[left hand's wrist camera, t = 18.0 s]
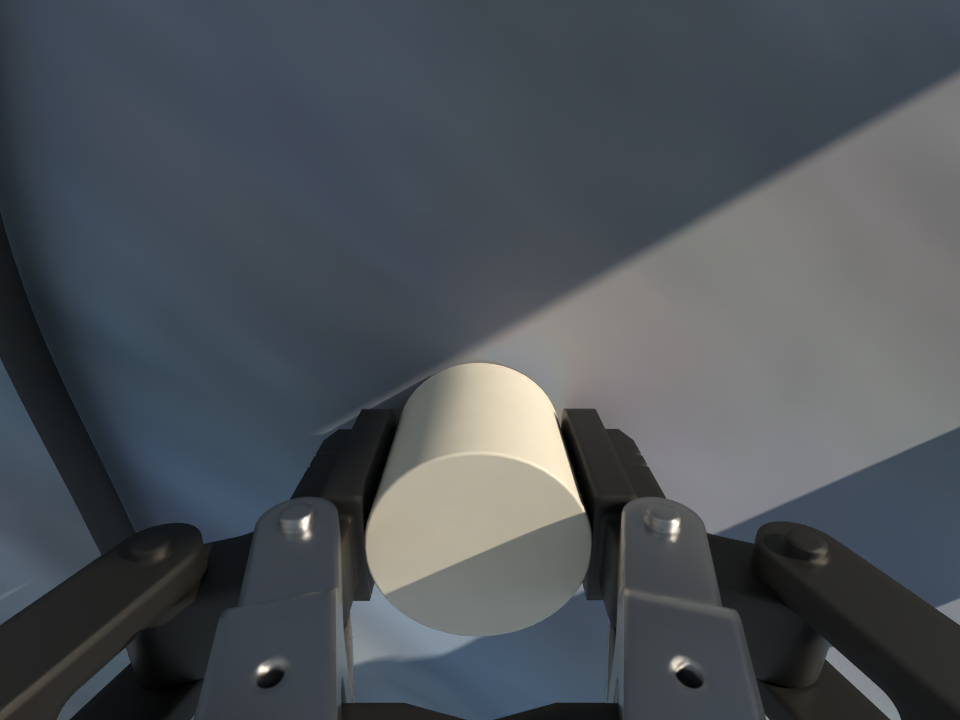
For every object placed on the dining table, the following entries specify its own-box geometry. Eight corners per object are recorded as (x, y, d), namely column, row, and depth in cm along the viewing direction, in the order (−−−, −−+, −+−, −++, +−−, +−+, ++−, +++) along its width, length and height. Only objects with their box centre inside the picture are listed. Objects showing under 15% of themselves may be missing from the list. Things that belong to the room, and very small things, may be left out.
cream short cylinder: (460, 528, 14) (453, 668, 10) (365, 419, 12) (315, 529, 9) (589, 454, 13) (634, 574, 9) (499, 329, 12) (509, 408, 8)
